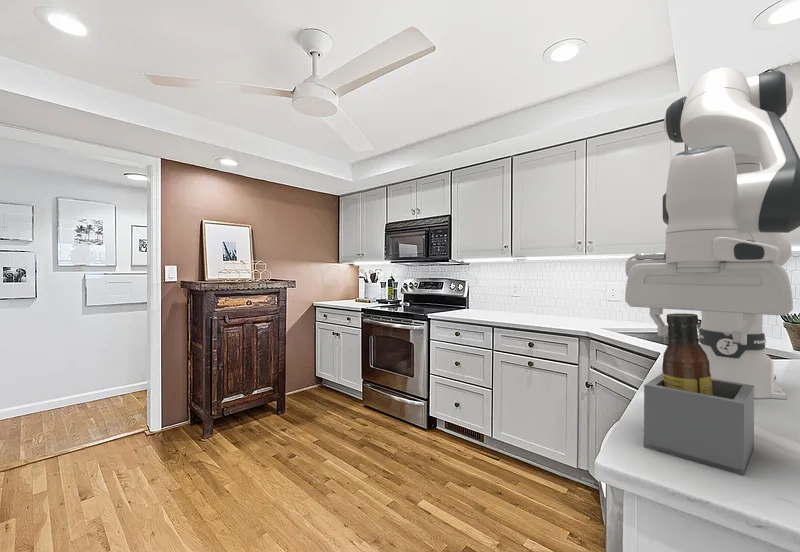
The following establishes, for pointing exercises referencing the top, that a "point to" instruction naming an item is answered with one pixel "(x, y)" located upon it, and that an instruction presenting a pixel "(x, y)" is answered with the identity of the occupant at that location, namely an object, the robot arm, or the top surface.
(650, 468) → the top surface
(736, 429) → the bin
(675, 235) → the robot arm
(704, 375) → the sauce bottle
